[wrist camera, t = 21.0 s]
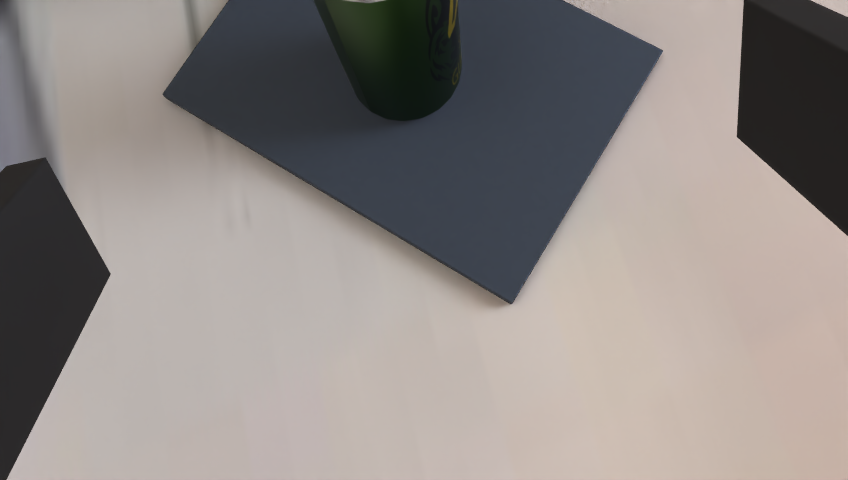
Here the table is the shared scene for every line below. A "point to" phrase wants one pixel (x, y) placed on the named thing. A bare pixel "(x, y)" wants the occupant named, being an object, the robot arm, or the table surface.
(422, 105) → the beer can
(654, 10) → the table surface
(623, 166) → the table surface
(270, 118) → the slate mat
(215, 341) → the table surface
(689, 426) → the table surface
